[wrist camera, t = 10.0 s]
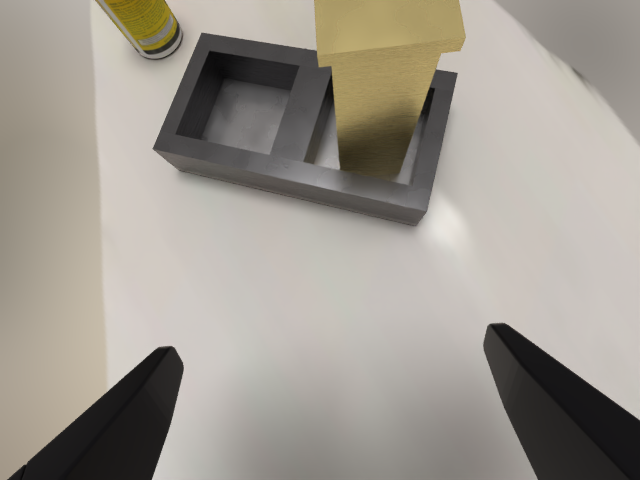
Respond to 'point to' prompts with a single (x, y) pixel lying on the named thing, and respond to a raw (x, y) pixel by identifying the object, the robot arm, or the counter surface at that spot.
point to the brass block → (382, 72)
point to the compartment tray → (290, 130)
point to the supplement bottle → (145, 25)
